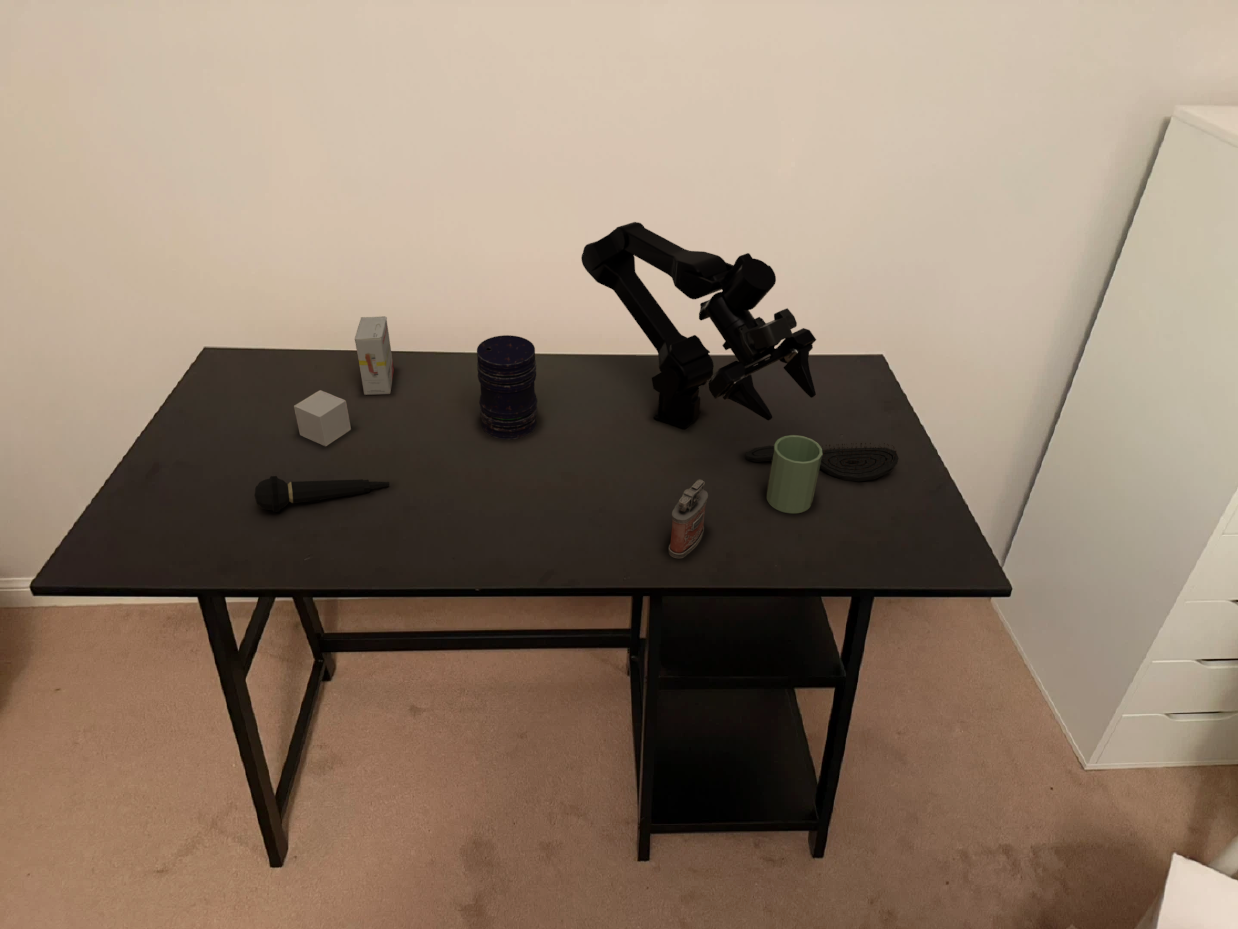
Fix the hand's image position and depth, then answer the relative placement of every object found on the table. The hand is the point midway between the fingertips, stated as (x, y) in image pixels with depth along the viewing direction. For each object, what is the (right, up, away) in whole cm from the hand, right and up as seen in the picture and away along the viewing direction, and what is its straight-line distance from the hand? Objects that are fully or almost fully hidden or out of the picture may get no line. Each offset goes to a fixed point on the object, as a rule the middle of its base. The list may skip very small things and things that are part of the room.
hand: (792, 407), depth 143 cm
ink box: (-71, +6, +30) cm, 77 cm away
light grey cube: (-77, -3, +17) cm, 79 cm away
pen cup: (+1, -14, +6) cm, 16 cm away
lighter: (-17, -21, -3) cm, 27 cm away
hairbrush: (+7, -9, +14) cm, 18 cm away
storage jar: (-46, -2, +20) cm, 50 cm away
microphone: (-73, -15, +2) cm, 74 cm away
